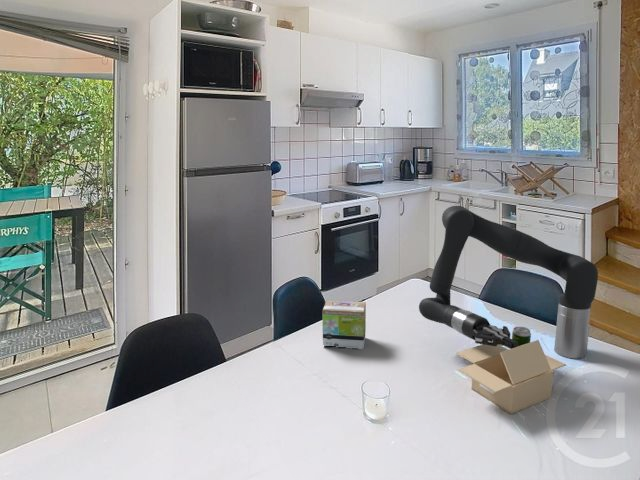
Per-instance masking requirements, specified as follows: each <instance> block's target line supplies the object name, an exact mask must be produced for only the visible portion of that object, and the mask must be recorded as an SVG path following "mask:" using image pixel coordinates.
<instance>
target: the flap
mask: <svg viewBox="0 0 640 480" xmlns="http://www.w3.org/2000/svg"><path fill="white" fill-rule="evenodd" d="M500 354H501V357H502V359H503V362H504V364H505V367H506V369H507V372H508V374H509V377H510V379H511V382H512V385H514V384H516V383H519V382H521V381H524V380H527V379H529V378H532V377H534V376H537V375H539V374H542V373H544V372H547V371H550V370H551V368H550V366H549V363H548V361H547V359H546V356H545V355H546V354H545V352H544V349H543V347H542V345H541V343H540V341H539V339H536V340H533V341H530V343H527V344H524V345H521V346H518V347H515V348H512V349H510V348H508V350H506V351H503V352H500Z"/></svg>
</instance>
